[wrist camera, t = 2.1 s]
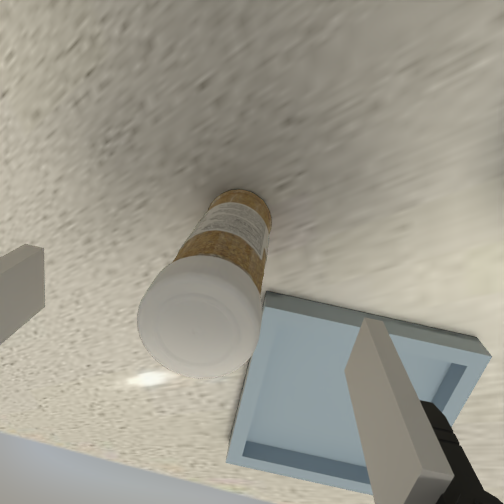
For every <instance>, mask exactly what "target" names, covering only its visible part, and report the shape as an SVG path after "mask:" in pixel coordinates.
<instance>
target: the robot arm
mask: <svg viewBox="0 0 504 504" xmlns="http://www.w3.org/2000/svg"><path fill="white" fill-rule="evenodd" d="M44 307H45V282H44V248H41V247H37V246H32V245H28V244H24V245H22V246H20V247H19V248H17V249H15V250H13V251H11V252H10V253H8V254H6V255H4V256H2V257H0V345H1V344H2V343H3V342H4V341H5V340H7V339H8V338H9V337H10V336H11V335H12V334H14V333H15V332H16V331H17V330H18V329H19V328H20V327H22V326H23V325H24V324H25V323H26V322H27V321H29V320H30V319H31V318H32V317H33V316H34V315H36V314H37V313H38V312H39V311H40V310H41V309H43V308H44ZM344 372H345V376H346V381H347V385H348V389H349V394H350V398H351V402H352V406H353V411H354V415H355V419H356V424H357V428H358V432H359V437H360V441H361V445H362V449H363V454H364V458H365V462H366V467H367V471H368V475H369V479H370V484H371V488H372V492H373V497H374V501H375V504H503V503H502V502H501V501H500V500H499V499H497V498H496V497H495V496H493V495H491V494H490V493H488V492H486V491H484V489H483V487H482V485H481V483H480V481H479V480H478V478H477V476H476V474H475V472H474V470H473V468H472V466H471V464H470V462H469V460H468V458H467V457H466V455H465V453H464V451H463V449H462V447H461V446H459V441H458V439H457V437H456V435H455V434H453V430H452V428H451V426H450V424H449V422H448V420H447V418H446V416H445V415H444V414H443V413H442V412H441V411H440V410H439V409H438V408H437V407H436V406H435V405H434V403H431V402H427V401H422V400H419V398H418V396H417V394H416V392H415V389H414V387H413V385H412V383H411V381H410V379H409V376H408V374H407V372H406V370H405V368H404V366H403V364H402V361H401V359H400V357H399V355H398V353H397V351H396V348H395V346H394V344H393V342H392V340H391V338H390V335H389V333H388V331H387V329H386V327H385V325H384V322H383V321H379V320H375V319H370V318H365V317H364V320H363V322H362V325H361V328H360V330H359V333H358V335H357V338H356V341H355V343H354V346H353V349H352V351H351V354H350V357H349V359H348V362H347V365H346V367H345V370H344Z"/></svg>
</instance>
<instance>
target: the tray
mask: <svg viewBox="0 0 504 504" xmlns="http://www.w3.org/2000/svg"><path fill="white" fill-rule="evenodd" d="M364 317H365V318H370V319H375V320H379V321H383V322H384V325H385V327H386V329H387V331H388V333H389V335H390V338H391V340H392V342H393V344H394V346H395V348H396V351H397V353H398V355H399V357H400V359H401V361H402V364H403V366H404V368H405V370H406V372H407V374H408V376H409V379H410V381H411V383H412V385H413V387H414V389H415V392H416V394H417V396H418V398H419V400H422V401H427V402H431V403H434V405H435V406H436V407H437V408H438V409H439V410H440V411H441V412H442V413H443V414H444V415H445V416H446V418H447V420H448V422H449V424H450V426H451V427H452V425H453V423H454V422H455V420H456V418H457V416H458V415H459V413H460V411H461V409H462V408H463V406H464V404H465V403H466V401H467V399H468V397H469V396H470V394H471V392H472V390H473V389H474V387H475V385H476V383H477V382H478V380H479V378H480V377H481V375H482V373H483V371H484V370H485V368H486V366H487V364H488V363H489V361H490V359H491V357H492V356H491V355H490V353H489V352H488V351H487V350H486V348H485V347H484V346H483V345H482V343H481V342H480V341H479V340H478V338H477V337H473V336H468V335H464V334H459V333H454V332H450V331H445V330H441V329H436V328H432V327H427V326H423V325H418V324H414V323H409V322H405V321H400V320H396V319H391V318H386V317H382V316H377V315H373V314H368V313H364V312H359V311H355V310H350V309H346V308H341V307H337V306H332V305H328V304H323V303H319V302H314V301H309V300H305V299H300V298H296V297H291V296H287V295H282V294H278V293H273V292H269V291H266V295H265V299H264V304H263V308H262V321H261V329H260V336H259V340H258V343H257V346H256V349H255V351H254V353H253V354H252V356H251V357H250V360H249V364H248V368H247V372H246V376H245V380H244V384H243V388H242V392H241V396H240V400H239V404H238V408H237V412H236V416H235V420H234V424H233V428H232V432H231V436H230V440H229V446H228V452H227V458H226V463H229V464H234V465H238V466H243V467H247V468H252V469H256V470H261V471H265V472H270V473H274V474H279V475H284V476H288V477H293V478H297V479H302V480H306V481H311V482H315V483H320V484H324V485H329V486H333V487H338V488H342V489H347V490H351V491H356V492H360V493H365V494H369V495H373V492H372V488H371V484H370V479H369V475H368V471H367V467H366V462H365V458H364V454H363V449H362V445H361V441H360V437H359V432H358V428H357V424H356V419H355V415H354V411H353V406H352V402H351V398H350V394H349V389H348V385H347V381H346V376H345V372H344V370H345V367H346V365H347V362H348V359H349V357H350V354H351V351H352V349H353V346H354V343H355V341H356V338H357V335H358V333H359V330H360V328H361V325H362V322H363V320H364Z"/></svg>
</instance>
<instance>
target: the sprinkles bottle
mask: <svg viewBox="0 0 504 504" xmlns="http://www.w3.org/2000/svg"><path fill="white" fill-rule="evenodd" d="M271 225H272V223H271V215H270V212H269V209H268V208H267V206H266V204H265V203H264V201H263V200H262V199H261V198H259V197H258V196H257V195H255V194H253V193H251V192H249V191H246V190H240V189H238V190H230V191H227V192H225V193H223V194H221V195H219V196H218V197H217V198H216V199H215V200H214V201H213V202H212V203H211V205H210V207H209V209H208V212H207V213H206V214H205V215H204V216H203V217H202V219H201V220H200V222H199V223H198V224H197V226H196V227H195V229H194V230H193V232H192V233H191V234H190V236H189V237H188V238H187V240H186V241H185V243H184V244H183V245H182V247H181V248H180V250H179V252H178V254H177V256H176V258H175V259H174V261H173V262H172V263H171V264H169V265H168V266H166V267H165V268H164V269H163V270H162V271H161V272H160V273H159V274H158V275H157V277H156V278H155V280H154V281H153V282H152V284H151V285H150V287H149V288H148V290H147V291H146V293H145V295H144V296H143V298H142V300H141V303H140V305H139V309H138V314H137V326H138V332H139V335H140V338H141V340H142V343H143V345H144V346H145V348H146V349H147V351H148V352H149V353H150V355H151V356H152V357H153V358H154V359H155V360H156V361H157V362H159V363H160V364H161V365H162V366H164V367H165V368H167V369H169V370H171V371H173V372H175V373H177V374H180V375H183V376H186V377H190V378H197V379H210V378H217V377H221V376H224V375H227V374H230V373H232V372H234V371H236V370H237V369H239V368H240V367H241V366H243V365H244V364H245V363H246V362H247V361H248V360H249V358H250V357H251V356H252V354H253V353H254V351H255V349H256V346H257V343H258V340H259V336H260V329H261V321H262V302H261V296H260V294H261V286H262V280H263V276H264V268H265V264H266V260H267V252H268V244H269V233H270V230H271Z"/></svg>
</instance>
